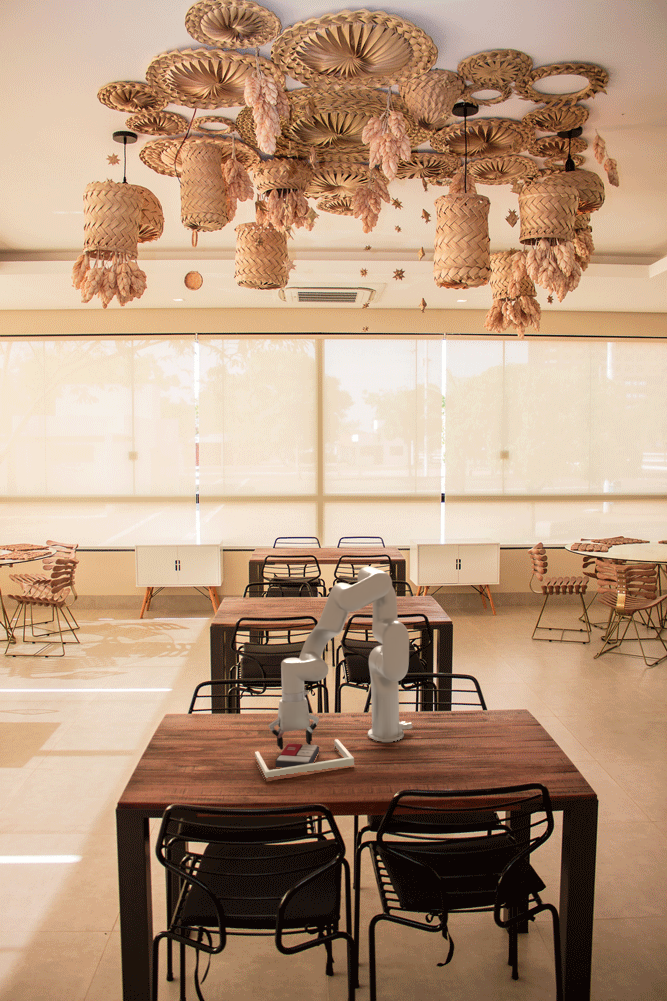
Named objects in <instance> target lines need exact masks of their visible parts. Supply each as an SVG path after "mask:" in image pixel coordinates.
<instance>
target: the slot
mask: <svg viewBox="0 0 667 1001" xmlns="http://www.w3.org/2000/svg"><path fill="white" fill-rule="evenodd" d="M333 743H334V747H335V746H336V748H337V749H338V750H339V752H340V753H341V754H342V755H343V757H344V758H342V757H341V758H335V759H330V760H329V759H328V760H325V761H324V760H323V761H318V762H316V761H315V763H310V764H304V765H298V766H292V767H286V768H280V769H276V768H275V769H274V768H273V769H269V768H268V767H267V765H266V762H265V761H264V759H263V757H262V755H261V754H260V751H258V750H257V751H255V752H254V758H255V757H256V759H257V761H258V763H259V765H260V767H261V769H262V771H263V773H264V775H265V777H266V778H268V777H274V776H280V775H286V774H294V773H298V772H307V771H314V770H322V769H328V768H335V767H344V766H351V765H354V766H355V757H354V756H353V755H352V754H351V753H350V751H349V750H348V749H347V748H346V747H345V746H344V745H343V743H342V742H341V741H340V740H339V739H338V738H335V739H334V742H333Z"/></svg>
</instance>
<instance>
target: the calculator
mask: <svg viewBox="0 0 667 1001" xmlns="http://www.w3.org/2000/svg"><path fill="white" fill-rule="evenodd" d="M318 752H319V753H320V746H319V745H317V744H311V745H308V743H306V744H305V743H304V744H301V743H290V742H289V743H287V744H286V746H285V747H283V749H282V751H281V753H280V754H279V755H278V757H277V758H276V760H275V761H274V762H275V766H276V767H282V768H286V767H292V766H298V765H304V764H310V763H313V762H314V760H315V758H316V756H317V754H318ZM276 767H275V768H276Z"/></svg>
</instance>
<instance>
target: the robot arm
mask: <svg viewBox="0 0 667 1001" xmlns="http://www.w3.org/2000/svg"><path fill="white" fill-rule="evenodd" d="M356 578H357V582H356V583H354V584H349V583H346V582H338V583H336V584H334V585H333V587H332V588H331V590H330V591H329V594H328V597H327V600H326V602H325V604H324V607H323V609H322V612H321V615H320V617H319V619H318V622H317V624H316V625H315V626H314V628H312V630H311V632H310V633H309V634H308V635H307V637H306V639H305V641H304V644H303V646H302V649H301V651H300V655H299V657H287V658H284V659H283V660H282V661H281V663H280V672H281V674H280V675H281V678H280V679H281V699H279V702H278V709H277V710H278V711H277V718H276V719H275V720H273V721H272V722H271V723H269V724H268V727H269V729H270V732H271V733H272V734H273V735H274V736H275V737H276V745H277V747H278V748H279V749H280V750H282V751H283V750H284V739H283V735H284V733H287V732H294V731H298V730H305V729H306V731H305V741H306V742H305V743H306V744H308V745H312V741H313V733H314V730H315V729H316V728H317V726H318V723H319V721H320V718H319V716H316V715H313V714H310V712H309V705H308V700H307V697H306V695H309V690H306V689H305V681H308V682H319V681H322V680H324V679H325V678H327V675H328V674H329V666H328V664H327V662H326V661H325V660H324V659H323V658H322V654H323V653H324V650H325V648H326V647H327V646H326V645H327V644H328V643H329V642H330V640H331V639H333V638H335V637H337V636H338V635H340V634H341V633H342V632H343V629H344V627H345V624H346V622H347V620H348V616H349V614H350V613H354V612H357V611H359V610H361V609H363V608H366V607H367V606H369V605H371V604H372V626H371V628H372V629H371V632H372V637H373V638H374V639H375V640H376V641H377V642H378V643H379V644H381V645H377V646H375V647H374V648H373V649H372V650H371V651H370V653H369V656H368V669H369V676H370V685H371V686H370V688H371V689H370V690H371V692H370V693H371V694H370V695H371V728H370V729H369V730H367V737H368V736H369V737H370V738H372V739H374V740H377V741H382V742H381V743H394V742H393V741H395V742H398V741H400V739H401V740H402V739H403V738H404V736H405V732H404V731H405V730H408V729H413V723H412V722H406V721H400V702H399V701H400V698H399V696H400V695H399V694H400V693H399V681H401V680H403V679H404V678H405V677H406V675H407V674H408V670H409V662H410V635H409V630H408V629H407V627H406V625H404V623H402V622H401V621H399V619H398V599H397V594H396V590H395V588H394V587H393V581H392V578H391V576H390V574H388V573H387V572H386V571H384V570H382V569H379V568H377V567H374V566H369V565H368V566H363V567H361V568H360V569H359V570H358V572H357V577H356ZM310 720H312V721H313V722H312V723H311V722H310ZM310 723H311V724H310ZM276 726H278V729H277V730H276V729H275V728H276ZM369 737H368V738H369ZM370 738H369V739H370ZM374 740H373V741H374ZM397 740H398V741H397ZM377 741H376V742H377Z"/></svg>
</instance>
